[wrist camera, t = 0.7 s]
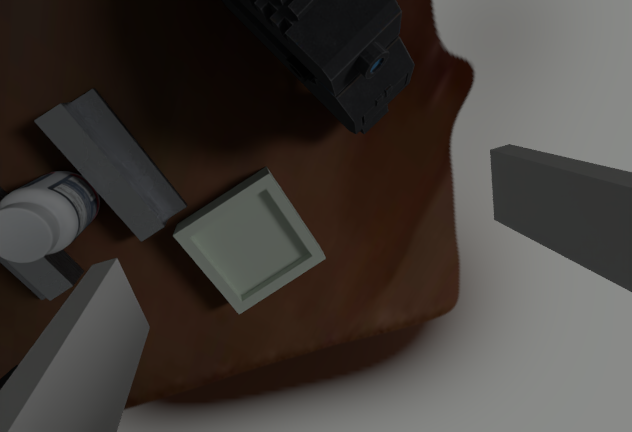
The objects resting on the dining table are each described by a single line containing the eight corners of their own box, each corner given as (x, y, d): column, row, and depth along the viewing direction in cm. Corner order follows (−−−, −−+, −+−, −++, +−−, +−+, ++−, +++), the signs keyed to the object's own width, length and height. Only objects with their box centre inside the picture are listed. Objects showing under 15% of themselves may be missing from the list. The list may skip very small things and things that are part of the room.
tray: (177, 224, 37) (172, 235, 34) (266, 166, 37) (269, 173, 34) (238, 298, 40) (239, 314, 38) (319, 246, 40) (326, 258, 38)
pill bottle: (35, 225, 34) (-26, 270, 26) (31, 166, 33) (-35, 195, 24) (102, 229, 35) (63, 273, 27) (101, 173, 34) (59, 201, 26)
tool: (357, 157, 35) (344, 100, 20) (221, 19, 38) (122, -120, 23) (407, 109, 35) (430, 15, 20) (266, -27, 38) (193, -199, 23)
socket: (-68, 193, 32) (-95, 203, 29) (95, 88, 32) (83, 88, 29) (44, 296, 36) (30, 313, 34) (187, 204, 36) (184, 214, 34)
